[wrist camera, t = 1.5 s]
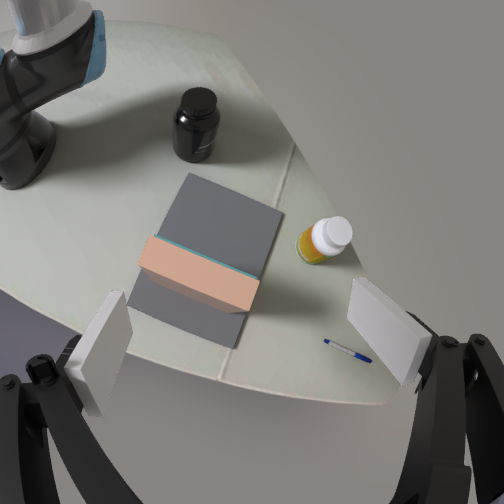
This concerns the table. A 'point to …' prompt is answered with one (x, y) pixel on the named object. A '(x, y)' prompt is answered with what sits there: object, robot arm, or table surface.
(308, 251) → the supplement bottle
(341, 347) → the ballpoint pen
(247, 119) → the table surface
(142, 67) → the table surface
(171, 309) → the mat
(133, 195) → the table surface
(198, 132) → the supplement bottle
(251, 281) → the tile
